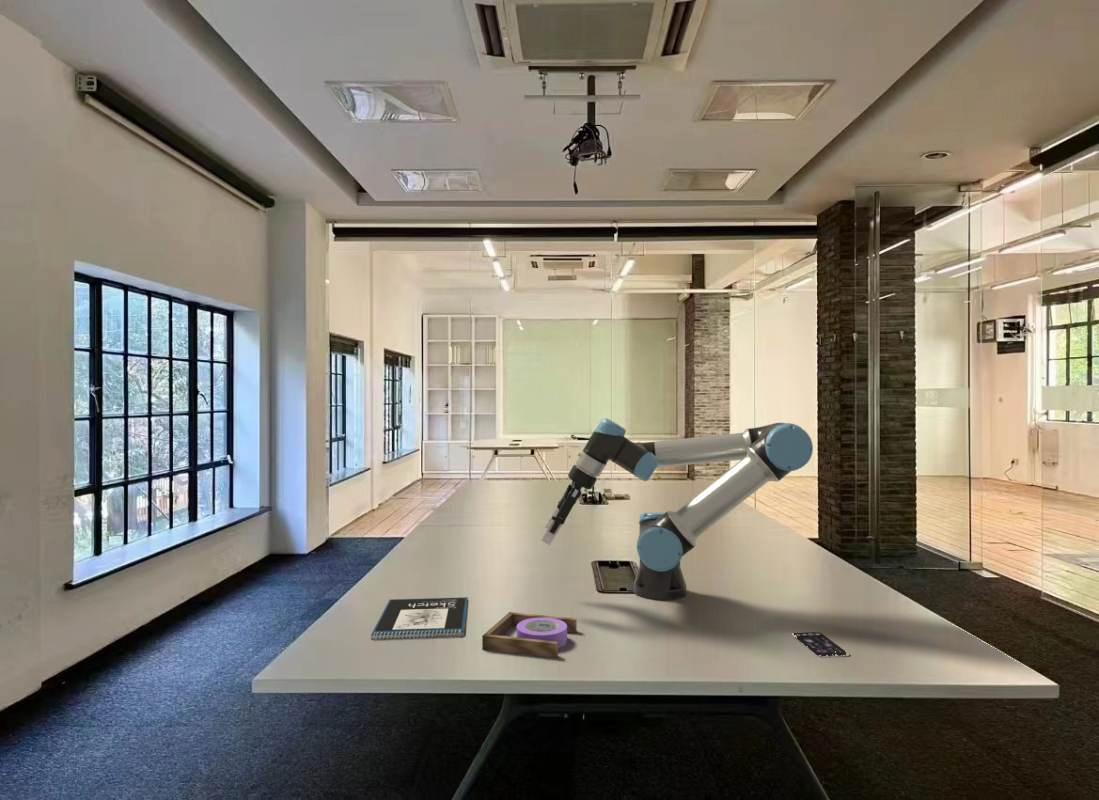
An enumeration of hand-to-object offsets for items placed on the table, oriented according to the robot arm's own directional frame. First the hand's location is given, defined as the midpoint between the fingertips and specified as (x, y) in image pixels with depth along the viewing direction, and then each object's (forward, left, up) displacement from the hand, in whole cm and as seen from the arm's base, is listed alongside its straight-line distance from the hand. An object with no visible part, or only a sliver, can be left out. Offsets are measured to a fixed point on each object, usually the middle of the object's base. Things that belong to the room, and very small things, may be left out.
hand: (546, 535), depth 184 cm
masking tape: (-8, +30, -18) cm, 36 cm away
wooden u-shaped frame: (-6, +30, -18) cm, 35 cm away
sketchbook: (+26, +23, -19) cm, 39 cm away
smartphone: (-69, +14, -19) cm, 73 cm away
